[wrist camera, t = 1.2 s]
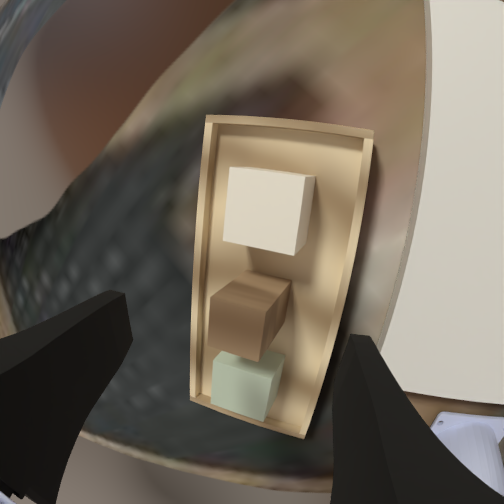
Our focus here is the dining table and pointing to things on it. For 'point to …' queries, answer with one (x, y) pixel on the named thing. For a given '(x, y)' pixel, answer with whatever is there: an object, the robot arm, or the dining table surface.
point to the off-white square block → (268, 209)
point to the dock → (455, 216)
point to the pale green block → (246, 383)
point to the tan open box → (276, 260)
